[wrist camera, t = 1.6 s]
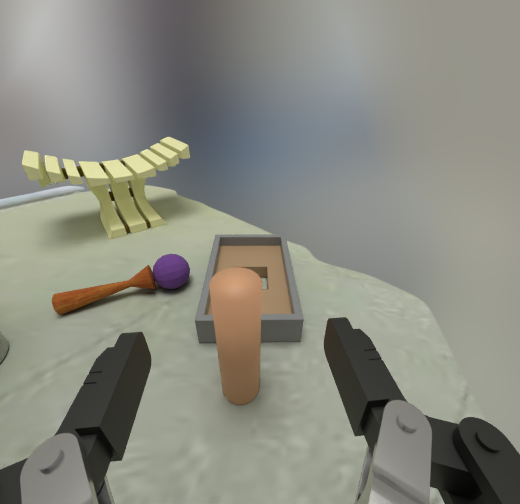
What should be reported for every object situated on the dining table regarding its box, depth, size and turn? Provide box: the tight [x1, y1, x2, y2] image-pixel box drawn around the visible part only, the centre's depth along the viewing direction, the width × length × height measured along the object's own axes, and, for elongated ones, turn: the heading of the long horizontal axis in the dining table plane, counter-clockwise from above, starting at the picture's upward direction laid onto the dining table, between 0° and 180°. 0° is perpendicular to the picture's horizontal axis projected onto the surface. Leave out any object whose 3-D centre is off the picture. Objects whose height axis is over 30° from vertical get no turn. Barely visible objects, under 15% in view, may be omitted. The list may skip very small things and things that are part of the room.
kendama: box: [52, 254, 190, 315], centre depth 42 cm, size 6×6×20 cm
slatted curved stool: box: [22, 137, 190, 239], centre depth 61 cm, size 30×16×18 cm, turn 126°
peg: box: [209, 267, 262, 405], centre depth 26 cm, size 4×4×16 cm
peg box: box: [195, 235, 304, 343], centre depth 43 cm, size 14×22×4 cm, turn 2°
